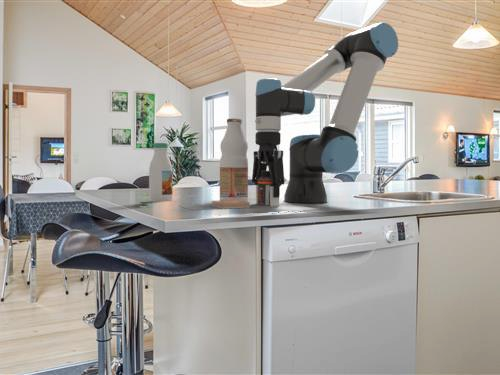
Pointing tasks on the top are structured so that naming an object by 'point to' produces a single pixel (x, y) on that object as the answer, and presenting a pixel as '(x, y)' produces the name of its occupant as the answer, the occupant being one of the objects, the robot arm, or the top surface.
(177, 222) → the top surface
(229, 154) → the fruit juice
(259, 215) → the top surface
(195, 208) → the mat
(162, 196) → the milk bottle
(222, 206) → the tile
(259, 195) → the supplement bottle
